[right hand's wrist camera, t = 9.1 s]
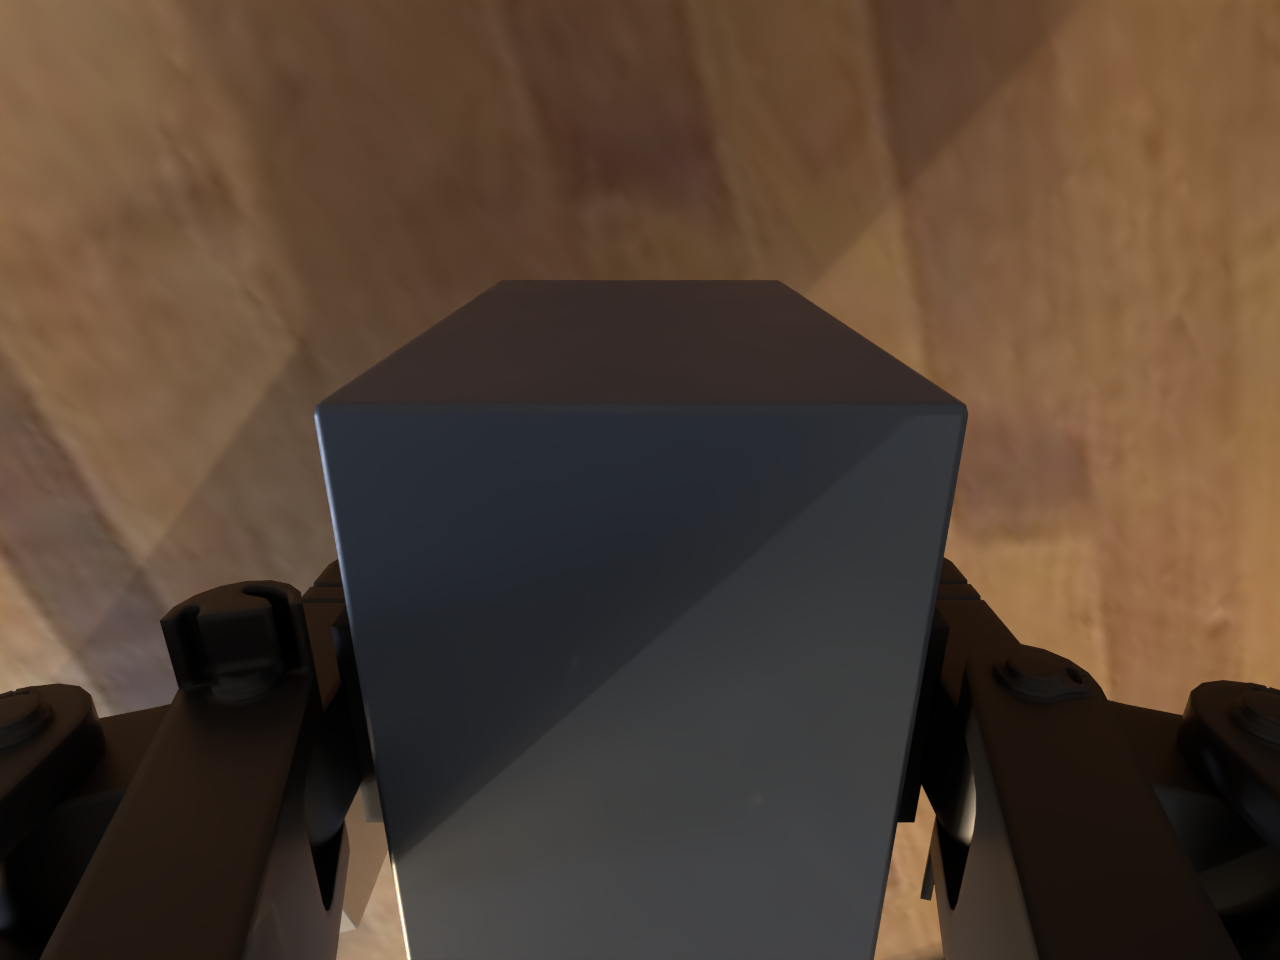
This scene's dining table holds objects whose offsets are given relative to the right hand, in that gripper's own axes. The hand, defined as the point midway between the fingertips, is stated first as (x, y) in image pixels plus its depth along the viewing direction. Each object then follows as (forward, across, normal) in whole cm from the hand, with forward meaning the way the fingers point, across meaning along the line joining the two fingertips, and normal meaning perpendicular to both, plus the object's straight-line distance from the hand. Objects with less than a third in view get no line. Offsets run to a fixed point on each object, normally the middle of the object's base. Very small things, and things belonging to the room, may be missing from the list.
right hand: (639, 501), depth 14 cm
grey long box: (0, 0, -9) cm, 9 cm away
